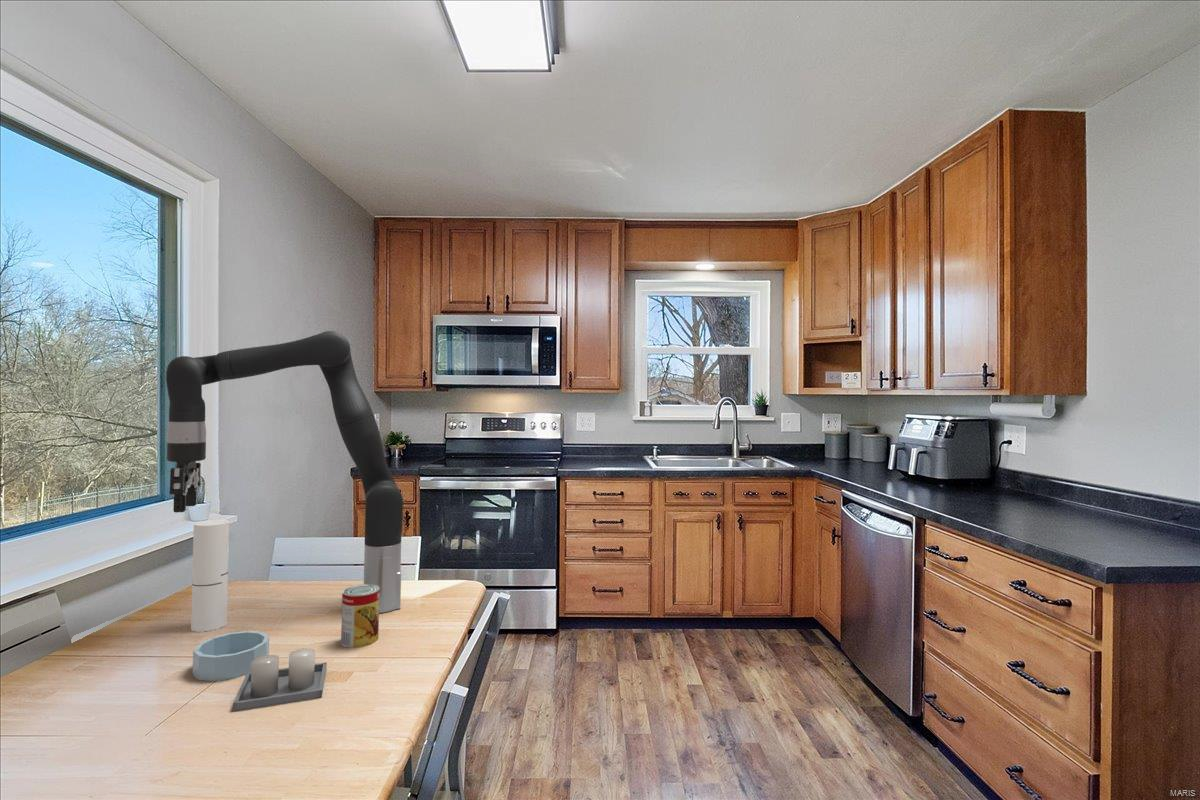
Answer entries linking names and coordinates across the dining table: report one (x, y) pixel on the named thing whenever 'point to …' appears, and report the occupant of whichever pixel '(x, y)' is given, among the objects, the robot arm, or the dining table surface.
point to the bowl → (228, 655)
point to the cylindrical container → (210, 575)
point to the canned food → (360, 615)
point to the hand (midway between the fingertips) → (185, 508)
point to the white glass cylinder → (301, 669)
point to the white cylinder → (264, 676)
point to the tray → (280, 690)
